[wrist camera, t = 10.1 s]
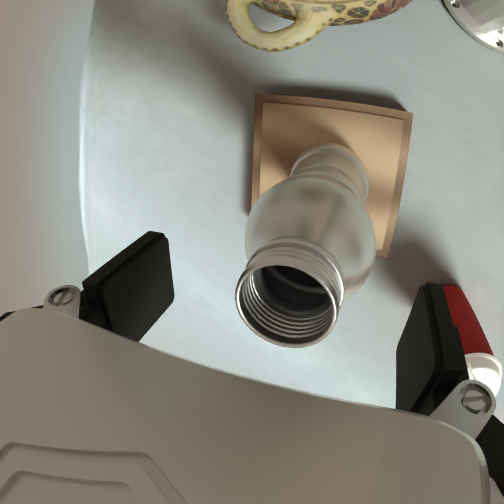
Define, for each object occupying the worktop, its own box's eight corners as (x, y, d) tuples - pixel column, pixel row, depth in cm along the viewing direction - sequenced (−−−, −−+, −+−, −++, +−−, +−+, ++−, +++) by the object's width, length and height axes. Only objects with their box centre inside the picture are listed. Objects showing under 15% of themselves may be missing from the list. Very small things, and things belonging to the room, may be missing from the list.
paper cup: (404, 293, 34) (414, 386, 22) (462, 264, 30) (500, 350, 18) (426, 339, 36) (436, 430, 24) (479, 314, 32) (508, 401, 20)
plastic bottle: (333, 123, 26) (285, 169, 9) (383, 182, 27) (417, 328, 10) (281, 170, 29) (164, 283, 12) (330, 224, 30) (281, 394, 13)
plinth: (264, 94, 29) (254, 93, 27) (407, 112, 26) (413, 113, 23) (258, 223, 36) (249, 235, 33) (385, 245, 32) (387, 259, 30)
